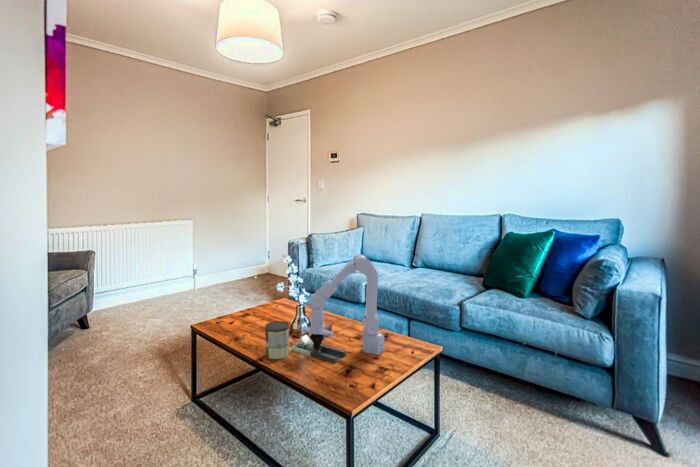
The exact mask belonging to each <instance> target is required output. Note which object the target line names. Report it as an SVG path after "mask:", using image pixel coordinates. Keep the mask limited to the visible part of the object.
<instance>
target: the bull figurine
mask: <svg viewBox="0 0 700 467" xmlns="http://www.w3.org/2000/svg"><path fill="white" fill-rule="evenodd" d="M332 328H333V324H332V322H331V321H330V320H328V321H326V322H324V329H326V330H328V331H331V332H333V330H332ZM323 340H324V341H325V340H326V336H324V338H323ZM323 340H322V341H323Z"/></svg>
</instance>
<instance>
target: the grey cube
mask: <svg viewBox="0 0 700 467" xmlns="http://www.w3.org/2000/svg"><path fill="white" fill-rule="evenodd" d="M305 348H306V349H305V350H307V351H310V352H311V351H315V347H314V344H313V342H312V340H311V339H310V341H308V342H306V347H305Z"/></svg>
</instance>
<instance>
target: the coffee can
mask: <svg viewBox="0 0 700 467" xmlns="http://www.w3.org/2000/svg"><path fill="white" fill-rule="evenodd" d="M264 330H265V331H264V332H265V357H266V358H268V359H270V360H283V359H286V358H287V357H289V356H290V323H288V322H287V321H285V320H283V321H281V320H274V321H271V322H268V323H266V324H265V325H264Z"/></svg>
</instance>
